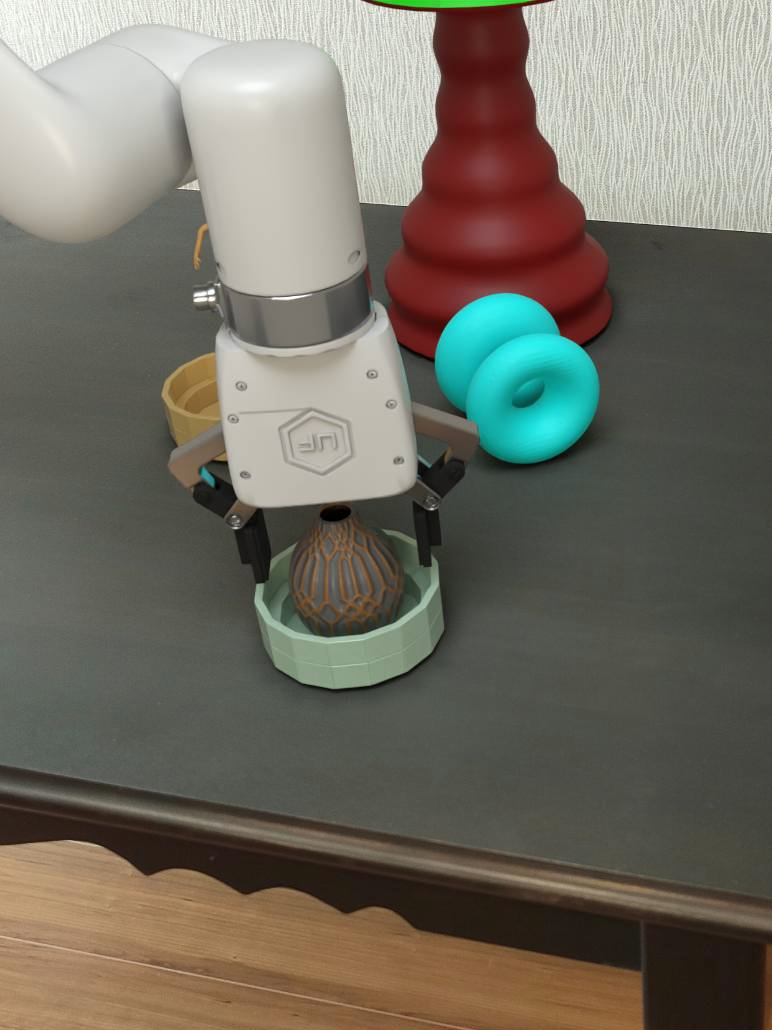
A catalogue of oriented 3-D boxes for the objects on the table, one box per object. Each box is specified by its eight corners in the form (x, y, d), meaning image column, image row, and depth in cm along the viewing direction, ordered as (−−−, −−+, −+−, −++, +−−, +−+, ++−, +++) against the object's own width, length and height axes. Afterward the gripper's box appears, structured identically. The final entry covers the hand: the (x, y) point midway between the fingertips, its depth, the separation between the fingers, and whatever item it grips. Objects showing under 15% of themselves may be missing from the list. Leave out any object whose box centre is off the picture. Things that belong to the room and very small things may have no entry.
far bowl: (164, 471, 95) (152, 425, 93) (183, 396, 104) (172, 352, 102) (313, 457, 96) (305, 411, 93) (319, 384, 105) (311, 340, 102)
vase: (356, 680, 76) (335, 562, 70) (275, 636, 79) (250, 521, 74) (433, 617, 80) (419, 501, 75) (353, 578, 83) (334, 465, 78)
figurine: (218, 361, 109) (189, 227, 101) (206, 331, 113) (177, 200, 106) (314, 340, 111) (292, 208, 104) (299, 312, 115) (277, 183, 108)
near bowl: (259, 702, 75) (247, 650, 73) (272, 585, 84) (262, 536, 81) (448, 683, 76) (441, 631, 73) (441, 569, 84) (435, 519, 82)
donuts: (479, 485, 92) (469, 362, 86) (436, 419, 99) (423, 302, 93) (606, 452, 95) (605, 330, 89) (555, 390, 102) (550, 274, 96)
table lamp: (615, 367, 105) (609, -286, 78) (374, 374, 106) (285, -270, 79) (609, 264, 121) (602, -310, 94) (400, 270, 121) (333, -296, 94)
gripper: (117, 347, 63) (191, 616, 73) (470, 316, 64) (494, 586, 74) (140, 281, 69) (205, 538, 79) (462, 253, 70) (486, 511, 80)
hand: (345, 561), depth 76 cm, fingers open, 9 cm apart
